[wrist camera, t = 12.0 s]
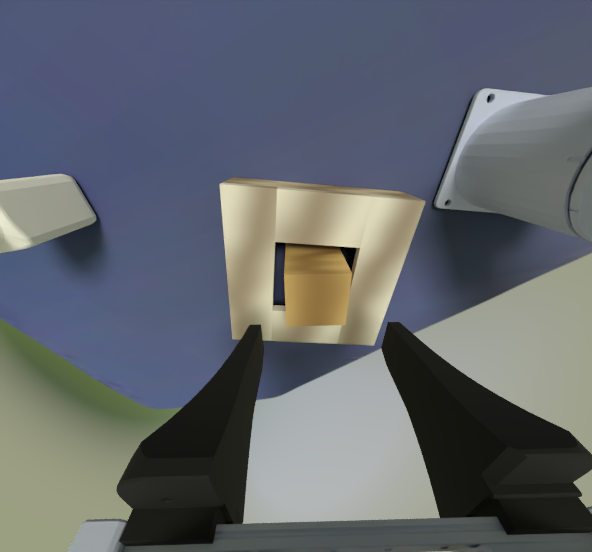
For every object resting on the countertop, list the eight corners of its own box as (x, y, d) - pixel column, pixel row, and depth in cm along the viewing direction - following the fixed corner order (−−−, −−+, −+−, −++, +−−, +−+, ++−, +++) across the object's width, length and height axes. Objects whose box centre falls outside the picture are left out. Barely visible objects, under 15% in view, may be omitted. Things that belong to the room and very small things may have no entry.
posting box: (400, 191, 19) (425, 201, 15) (362, 318, 26) (374, 345, 22) (233, 177, 18) (219, 183, 14) (240, 312, 25) (232, 339, 21)
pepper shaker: (103, 221, 20) (-35, 274, 11) (60, 227, 20) (-105, 284, 12) (74, 171, 18) (-118, 192, 9) (27, 179, 18) (-201, 206, 10)
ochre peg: (334, 237, 21) (352, 273, 15) (331, 278, 23) (345, 325, 17) (286, 237, 21) (284, 274, 15) (287, 279, 23) (286, 326, 17)
